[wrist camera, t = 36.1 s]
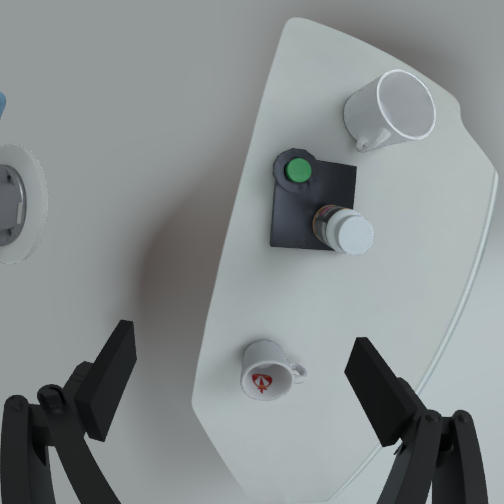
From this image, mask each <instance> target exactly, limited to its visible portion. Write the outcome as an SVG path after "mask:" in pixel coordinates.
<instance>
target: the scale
mask: <svg viewBox="0 0 504 504" xmlns="http://www.w3.org/2000/svg"><path fill="white" fill-rule="evenodd" d="M297 158H302V159H304V160H306V161H307V162H308V163H309V164H310V166H311V175H310V177H309V178H308V179H307V180H306V181H304V182H293V181H291V180H289V179H288V177H287V176H286V173H285V168H286V165H287V164H288V163H289V162H290V161H291V160H294V159H297ZM356 170H357V167H356V166H350V165H344V164H338V163H332V162H325V161H318V160H315V157H314V156H313V155H311V154H310V153H309V152H307V151H306V150H303V149H295V148H292V149H290V150H288V151H285V152H283V153H281V154H280V155H279V156H277V159H276V161H275V162H274V167H273V176H274V178H275V187H274V199H273V211H272V223H271V234H270V246H271V247H285V248H301V249H316V250H331V251H335V250H334V249H332V248H331V247H330V246H328V245H326V244H325V243H323V242H322V241H321V240H320V239H318V237H317V236H316V235H315V233H314V230H313V219H314V216H315V214H316V213H317V212H318V210H319V209H321V208H322V207H324V206H327V205H336V206H340V207H344V208H348V209H352V210H353V204H354V194H355V183H356Z"/></svg>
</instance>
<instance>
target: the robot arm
mask: <svg viewBox="0 0 504 504" xmlns="http://www.w3.org/2000/svg"><path fill="white" fill-rule="evenodd" d="M5 104H6V99H5V96H4V94H3V93H1V92H0V118H1V115H2V113H3V110H4V108H5ZM26 210H27V199H26V191H25V187H24V183H23V180H22V178H21V176H20V174H19V173H18V172H17V170H16V169H15V168H13V167H12V166H10V165H0V246H5V245H8V244H11V243H13V242H14V241H15V240H16V239H17V238H18V236H19V235H20V233H21V231H22V229H23V226H24V223H25V218H26ZM136 360H137V357H136V347H135V338H134V325H133V322H132V321H126V320H120V322H119V323H118V325H117V327H116V328H115V330H114V331H113V333H112V334H111V336H110V337H109V339H108V341H107V342H106V344H105V346H104V347H103V349H102V350H101V352H100V353H99V355H98V357H97V358H96V360H95V362H94V363H90V362H86V361H84V362H82V363H81V364H79V365H78V366H77V367H76V368H75V370H74V372H73V374H72V375H71V376H70V378H69V380H68V381H67V383H66V384H65V386H64V387H63V389H62V388H61V387H60V386H58V385H54V384H50V385H45V386H43V387H42V388H40V389H39V391H38V393H37V398H38V401H39V403H40V405H35V404H29V403H28V401H27V399H26V398H25V397H23V396H21V395H13V396H11V397H9V398H8V399H7V400H6V402H5V404H4V412H3V421H2V432H1V448H0V449H1V450H0V479H1V480H0V481H1V496H2V497H1V498H2V504H56V502H55V497H54V492H53V486H52V479H51V471H50V463H49V454H48V453H49V452H48V446H55V448H56V450H57V453H58V455H59V458H60V460H61V463H62V465H63V467H64V470H65V472H66V474H67V477H68V479H69V481H70V483H71V485H72V487H73V489H74V491H75V493H76V495H77V497H78V499H79V501H80V503H81V504H121V503H120V501H119V500H118V498H117V497H116V495H115V494H114V492H113V490H112V489H111V487H110V486H109V484H108V482H107V481H106V479H105V477H104V476H103V474H102V472H101V470H100V469H99V467H98V465H97V463H96V461H95V459H94V457H93V456H92V454H91V452H90V450H89V448H88V446H87V444H86V442H85V440H84V435H85V432H87V434H88V436H89V438H92V439H95V440H98V441H102V442H104V441H105V439H106V436H107V433H108V430H109V428H110V425H111V422H112V420H113V417H114V414H115V412H116V409H117V407H118V404H119V402H120V399H121V396H122V394H123V391H124V389H125V387H126V384H127V382H128V379H129V377H130V375H131V372H132V370H133V367H134V365H135V363H136ZM344 373H345V375H346V376H347V378H348V380H349V382H350V384H351V386H352V388H353V390H354V392H355V394H356V396H357V398H358V399H359V401H360V403H361V405H362V407H363V409H364V411H365V413H366V415H367V417H368V419H369V421H370V423H371V425H372V427H373V429H374V431H375V433H376V435H377V437H378V439H379V441H380V443H381V445H382V447H386V446H391V445H394V444H395V443H396V442H397V441H398V439H399V438H401V440H402V441H403V442H402V443H401V445H400V446H399V447H398V449H397V450H396V451H395V453H394V455H395V454H396V453H397V452H398V453H397V455H396V458H395V461H394V464H393V466H392V469H391V471H390V474H389V476H388V479H387V481H386V484H385V486H384V488H383V491H382V493H381V495H380V497H379V500H378V502H377V504H425V503H426V500H427V497H428V493H429V489H430V486H431V481H432V504H488V496H487V488H486V480H485V474H484V468H483V462H482V457H481V452H480V448H479V443H478V439H477V435H476V431H475V427H474V423H473V419H472V417H471V415H470V414H469V413H468V412H466V411H464V410H457V411H455V413H454V414H453V416H452V417H442V416H441V414H439V413H438V412H437V411H434V410H430V409H429V410H427V408H426V407H425V406H424V404H423V403H422V401H421V400H420V399H419V397H418V396H417V395H416V394H415V392H414V390H413V389H412V388H411V386H410V385H409V384H408V382H406V381H405V380H404V379H402V378H401V377H399V378H397V377H396V376H395V374H394V373H393V372H392V370H391V369H390V368H389V366H388V365H387V363H386V362H385V361H384V359H383V358H382V357H381V355H380V354H379V353H378V351H377V350H376V349H375V347H374V346H373V345H372V343H371V342H370V341H369V339H368V338H367V337H356V340H355V343H354V346H353V349H352V352H351V355H350V358H349V360H348V363H347V366H346V368H345V371H344Z"/></svg>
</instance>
